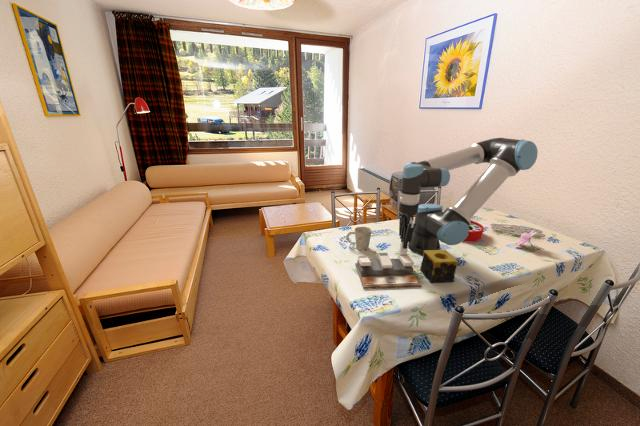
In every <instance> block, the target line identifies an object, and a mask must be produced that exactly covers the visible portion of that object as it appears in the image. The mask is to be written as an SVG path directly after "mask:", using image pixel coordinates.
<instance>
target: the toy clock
mask: <svg viewBox="0 0 640 426" xmlns="http://www.w3.org/2000/svg"><path fill="white" fill-rule="evenodd" d="M470 223H471V224H470V225H469V226H468V227H469V232H468V236H467V238H466V239H465V240H464V241H463V242H466V243H467V242H469V243H471V242H478V241H481V240H482V239H483V233H484V229H485V227H484V226H483V225H482V224H481V223H479V222H477V221H473V220H471V219H470Z"/></svg>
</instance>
